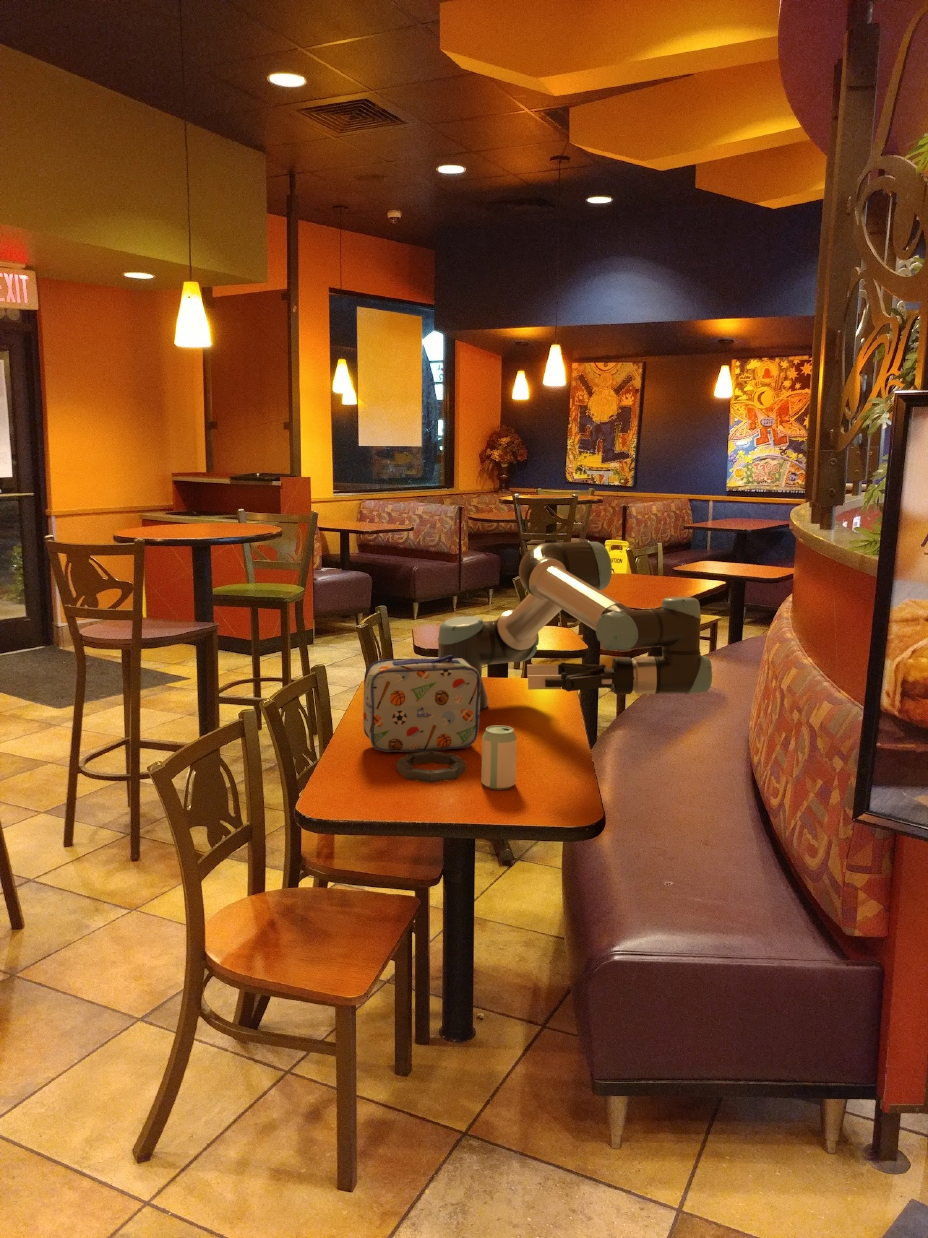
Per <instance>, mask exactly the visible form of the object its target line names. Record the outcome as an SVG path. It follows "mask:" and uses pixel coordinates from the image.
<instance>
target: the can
mask: <svg viewBox="0 0 928 1238" xmlns="http://www.w3.org/2000/svg"><path fill="white" fill-rule="evenodd" d="M481 736H482V739H481V741H482V742H481V774H480V775H481V776H480V777H481V779H480V781H481V783H482V784H483V786H485V787H486V788H488V789H490V790H496V791H497V790H499V791H500V790H501V791H502V790H508V789H510V788H511V787H513V786H514V785H516V776H517V775H516V774H517V771H516V770H517V749H518V747H517V744H518V737H517V735H516V733H515V729H514V728H513V727H511V726H508V725H503V724H501V725H500V724H499V725H496V724H495V725H490V726H487V727H486V728H485V731H484V733H483V735H481Z"/></svg>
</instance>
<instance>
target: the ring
mask: <svg viewBox="0 0 928 1238" xmlns="http://www.w3.org/2000/svg"><path fill="white" fill-rule="evenodd" d="M430 763H432V764H433V763H434V764H438V765H439V764H440V765H445V764H446V765H447V766H449V768H447V767H446V768H439V769H438V768H437V769H432V770H429V769H424V768H417V767H413V766H414V765H421V764H422V765H423V764H430ZM446 765H445V766H446ZM396 772H397V773H399V774H400V775H401V776H402V777H403V778H404V779H405V780H409V779H410V781H416V780H418V781H417V782H423V783H428V782H429V784H430V783H431V784H433V783H439V782H440V781H441V782H447V781H446V780H448V781H454V780H455V781H456V780H457V779H458V778H459V777H461V776H462V775H463V774H465V772H466V761H464V759H463V758H461V757H459V756H458V755H457V754H455V753H454V754H453V753H448V752H443V751H441V752H439V751H436V750H434V751H427V752H409V753H407V754H406V755H404V756H403V757H401V758H400V759H398V760H397V761H396ZM461 774H462V775H461ZM444 780H445V781H444Z"/></svg>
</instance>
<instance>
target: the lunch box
mask: <svg viewBox="0 0 928 1238" xmlns="http://www.w3.org/2000/svg"><path fill="white" fill-rule="evenodd" d="M480 683H481V680H480V674H479V672H478V671H477V670H476V669H475V668H474V667H472V666H471V665H470V663H469V662H468V661H466V660H465V659H462V658H454V656H452V655H448V656H446V657H442V658H438V657H437V658H387V659H379V660H376V661H374V662H372V663H371V664H370V665H368V667H367V668H366V669H365V673H364V679H363V707H362V708H363V709H362V711H363V712H362V714H363V715H362V716H363V720H362V721H363V722H362V723H363V730H364V731H363V732H364V734H365V736H366V737H367V738H368V739H369V741H370V744H371V745H372V747H373V748H374V749H375V750H377V751H380V752H387V753H392V752H393V753H394V752H395V753H419V752H427V751H445V750H456V749H464V748H468V747H470V746H471V745H473V744H474V743H475V742H476V740H477V738H478V735H479V730H480V728H479V727H480V715H481V710H480Z"/></svg>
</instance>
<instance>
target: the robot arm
mask: <svg viewBox="0 0 928 1238" xmlns="http://www.w3.org/2000/svg"><path fill="white" fill-rule="evenodd" d="M519 563H520V564H519V566H518V567H519V568H518V576H519V580H520V582H521V585H522V587H523V588H524V589H525V590H526V591H527V592H528V594H527V595H526V597H525V598H524V599H522V601H520V603H519V604H518V605H517V606H515V608H514V609H509V610H507V611H505V612H503V613H502V614H501V615H500V616H499V617H498V618H497V619H495V620H488V621H486V620H485V621H484V620H483V618H482V617H479V616H474V615H469V616H458V617H457V616H456V617H452V618H450V619H446V620H445V621H443V622H442V623H441V624H440V625H439V630H438V637H437V642H438V646H437V647H438V648H437V649H438V652H437V653H438V654H437V655H438V657H437V658H442V657H446V656H448V655H452V656H454V658H462V659H465V660H466V661H468V662H469V663H470V665H471V666H472V667H474V668H475V669H476V670H477V671H478V672H479V674H480V680H481V683H480V711H481V710H484V709H486V708H488V703H489V701H488V700H489V699H488V694H487V690H486V687H485V684H484V680H483V677H482V675H483V674H482V673H483V666H485V665H487V666H489V665H497V664H506V663H507V664H509V663H521V662H524V661H528V660H530V659H531V658H533V656H535V654H536V652H537V650H538V646H539V641H540V638H539V635H540V634H539V632H541V630H543V628H544V627H545V626H547V624H548V623H550V622H551V620H552V619H553V618H554V617H556V615H558V613H560V612H561V611H564V612H566V613H568V614H569V615H571V616H572V617H573V618H575V619H576V620H577V621H580V622H581V623H583V624H584V625H586V626H587V627H589V628H590V629H592V630H594V631H595V635H596V639H597V642H599V643H600V646H601V647H602V649H604V650H606V651H610V652H611V651H613V652H614V651H617V652H626V651H630V650H638V649H639V650H640V649H647V648H648V649H649V648H659V647H661V653H662V656H653V655H652V656H635V657H633V658H632V657H630V656H615V657H613V659H612V661H611V668H610V667H607V666H606V664H604V663H602V664H588V663H576V662H575V663H574V662H572V663H571V662H565V661H563V662H561V663H559V664H526V666H527V667H526V674H527V675H526V677H527V678H526V679H527V690H530V691H531V690H563V691H566V692H574V691H583V690H586V691H587V690H595V689H610V688H611V689H612V692H613V693H614V694H615V695H631V694H632V693H633V692H634V694H636V695H640V694H641V695H643V694H644V697H650V694H652V695H655V694H656V695H657V694H658V695H659V694H661V695H663V694H665V695H666V694H667V695H668V694H669V695H673V694H675V695H676V694H677V695H678V694H680V695H683V694H684V695H689V694H701V693H702V694H703V693H707V692H708V691H709V690H710V689H711V687H712V683H713V669H712V661H711V659H710V657H708V656H706V655H702V654H701V648H700V647H701V645H700V642H701V622H702V618H701V617H702V616H701V605H700V601H699V599H697V598H695V597H690V596H670V597H665V598H663V599H662V602H661V606H660V608H654V609H653V608H651V609H637V610H635V609H633V608H630V607H628V606H626V605H625V604H623V603H621V602H619V601H618V600H616V599H615V598H613V597H611V596H609V595H608V594H606V593H605V592H603V591H602V590H605V589H607V588H608V586H609V584H610V583H611V580H612V575H613V574H612V572H613V569H612V568H613V567H612V566H613V565H612V560H611V556H610V553H609V552H608V549H607V548H606V546H605V545H604V544H603V543H601V542H599V541H590V540H586V541H573V542H571V541H570V542H569V541H568V542H546V543H545V542H544V543H541V544H537V545H535V546H533V547H531V548H530V549H529V550H528V551H526V553H525V554H524V555H523V557H522V559H521V560H520V562H519Z"/></svg>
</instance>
